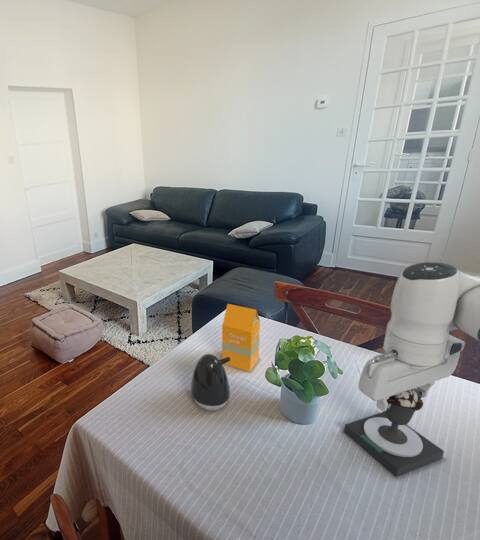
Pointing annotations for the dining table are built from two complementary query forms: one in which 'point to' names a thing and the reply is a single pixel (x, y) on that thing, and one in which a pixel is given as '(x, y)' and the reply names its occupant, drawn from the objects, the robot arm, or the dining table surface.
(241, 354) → the orange juice
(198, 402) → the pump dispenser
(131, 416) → the dining table surface
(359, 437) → the scale
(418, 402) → the sundae
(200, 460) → the dining table surface
